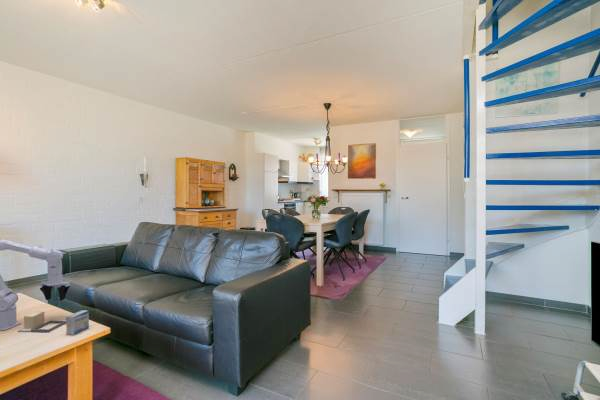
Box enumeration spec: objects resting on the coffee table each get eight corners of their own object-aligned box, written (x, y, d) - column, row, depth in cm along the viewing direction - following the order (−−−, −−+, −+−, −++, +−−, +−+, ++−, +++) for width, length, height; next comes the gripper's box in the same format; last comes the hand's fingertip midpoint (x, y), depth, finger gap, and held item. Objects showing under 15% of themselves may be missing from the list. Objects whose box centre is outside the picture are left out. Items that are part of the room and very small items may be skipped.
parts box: (24, 328, 141) (24, 316, 140) (35, 323, 147) (35, 311, 146) (33, 329, 140) (32, 316, 140) (44, 323, 146) (44, 311, 146)
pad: (17, 331, 139) (17, 330, 139) (37, 322, 149) (37, 321, 149) (29, 332, 138) (29, 331, 138) (48, 322, 148) (48, 321, 148)
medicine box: (73, 335, 135) (73, 317, 135) (65, 334, 136) (65, 316, 136) (89, 327, 143) (89, 310, 143) (81, 327, 144) (81, 309, 144)
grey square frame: (30, 332, 138) (30, 329, 138) (50, 322, 148) (50, 320, 148) (48, 332, 138) (48, 329, 138) (66, 323, 148) (66, 320, 148)
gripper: (34, 275, 148) (34, 302, 148) (61, 276, 148) (62, 302, 148) (46, 272, 155) (47, 297, 156) (73, 272, 155) (73, 297, 155)
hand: (55, 299), depth 152 cm, fingers open, 7 cm apart
